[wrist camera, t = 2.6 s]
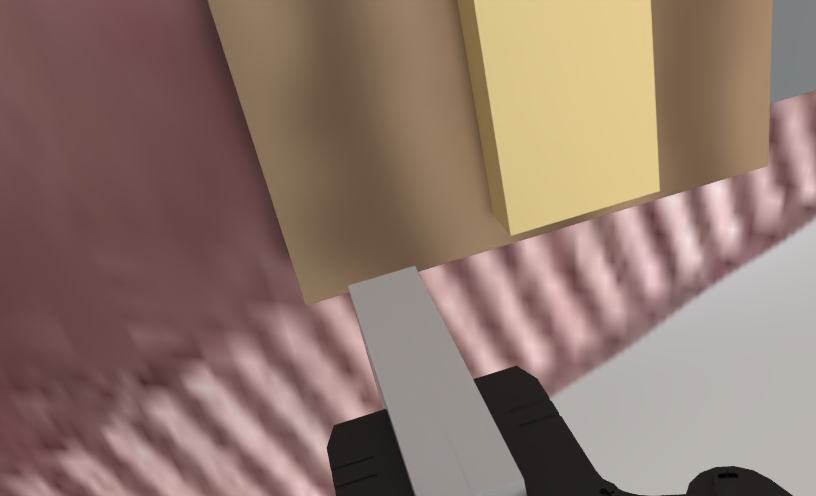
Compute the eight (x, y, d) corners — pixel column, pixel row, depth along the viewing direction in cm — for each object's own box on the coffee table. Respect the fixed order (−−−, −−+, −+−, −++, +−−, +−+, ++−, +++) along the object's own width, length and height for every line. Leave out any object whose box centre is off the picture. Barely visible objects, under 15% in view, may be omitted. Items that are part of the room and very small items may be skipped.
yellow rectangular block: (633, 172, 31) (659, 191, 29) (493, 214, 30) (510, 235, 28) (618, -64, 26) (647, -59, 25) (453, -21, 26) (471, -13, 24)
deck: (295, 259, 33) (305, 305, 30) (205, -23, 28) (205, -7, 24) (712, 136, 35) (768, 165, 32) (710, -149, 30) (777, -152, 26)
